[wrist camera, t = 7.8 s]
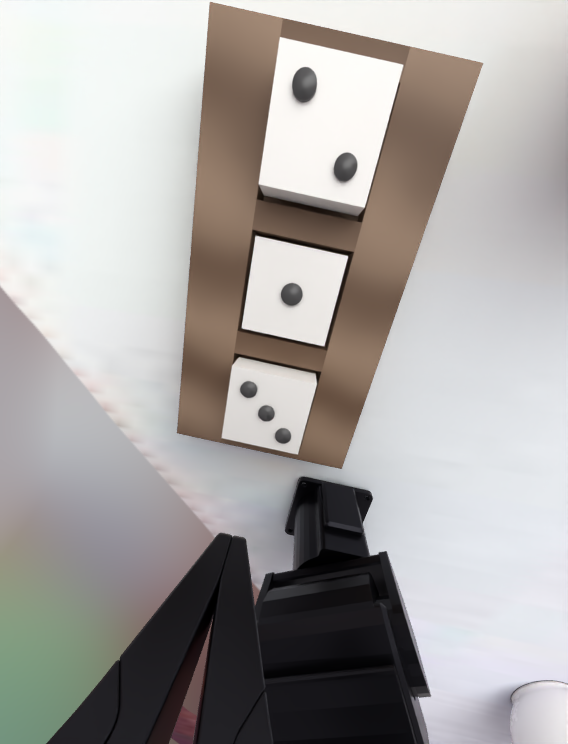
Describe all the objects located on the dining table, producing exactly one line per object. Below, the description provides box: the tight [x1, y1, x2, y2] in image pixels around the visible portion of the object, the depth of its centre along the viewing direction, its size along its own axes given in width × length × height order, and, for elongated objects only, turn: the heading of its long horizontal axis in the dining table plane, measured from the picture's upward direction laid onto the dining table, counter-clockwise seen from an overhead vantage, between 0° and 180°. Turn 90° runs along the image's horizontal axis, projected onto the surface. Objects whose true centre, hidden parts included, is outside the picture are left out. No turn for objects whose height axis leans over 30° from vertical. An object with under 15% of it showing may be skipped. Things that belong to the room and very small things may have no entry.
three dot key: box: [222, 357, 317, 455], centre depth 17 cm, size 5×5×2 cm
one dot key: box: [242, 236, 348, 346], centre depth 16 cm, size 5×5×2 cm
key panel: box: [177, 2, 483, 469], centre depth 17 cm, size 22×12×3 cm, turn 168°
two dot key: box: [259, 37, 403, 216], centre depth 12 cm, size 5×5×2 cm
